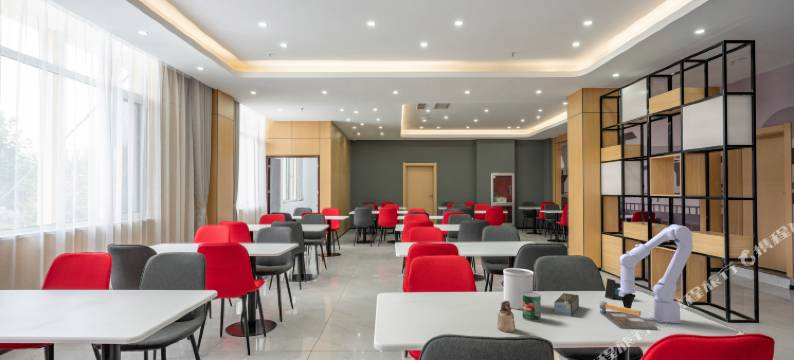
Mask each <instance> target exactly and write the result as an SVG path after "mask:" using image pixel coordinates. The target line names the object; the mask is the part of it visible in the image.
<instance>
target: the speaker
mask: <svg viewBox="0 0 794 360" xmlns="http://www.w3.org/2000/svg"><path fill="white" fill-rule="evenodd" d="M618 288H621V282H616V280H615V279H611V278H606V284H605V294H604V297H605V298H607V299H610V300H614V299H618V300H622V299H621V297H620V296H619V291H620V290H618Z"/></svg>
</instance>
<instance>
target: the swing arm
mask: <svg viewBox="0 0 794 360" xmlns="http://www.w3.org/2000/svg"><path fill="white" fill-rule="evenodd" d="M599 308H601V309H606V310H611V311H615V312H624V313H629V314H633V315H637V316H640V317H641V315H642V311H641V310H637V309H633V308H631V309H629V308H625V307H624V306H619V305H615V304H611V303H607V302H606V301H599Z"/></svg>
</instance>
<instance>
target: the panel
mask: <svg viewBox="0 0 794 360" xmlns="http://www.w3.org/2000/svg"><path fill="white" fill-rule="evenodd" d="M599 308H600V307H599ZM599 313H600V314H601V316H602V317H605V318H606V319H607V320H609V321H610V322H611V323H612V324H614V325H616V326H617V327H618V328H619V329H629V330H650V331H651V330H652V331H653V330H655V331H656V330H658V327H657V326H656V325H654V324H652V323H651V322H649V321H648V320H646V319H644V318H643V317H641V315H640V316H637V315H633V314H629V313H624V312H620V311H614V310H611V311H608V310H607V309H601V308H600V310H599Z"/></svg>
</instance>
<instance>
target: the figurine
mask: <svg viewBox="0 0 794 360" xmlns="http://www.w3.org/2000/svg"><path fill="white" fill-rule="evenodd" d="M497 317H498V318H497V330H498V331H501V332H505V333H512V332H515V330H516V322H515V315H514V313H513V311H512V308H511V307H510V302H509V301H504V300H503V301H502V302H501V303H500V310H499V313H498V316H497Z"/></svg>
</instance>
